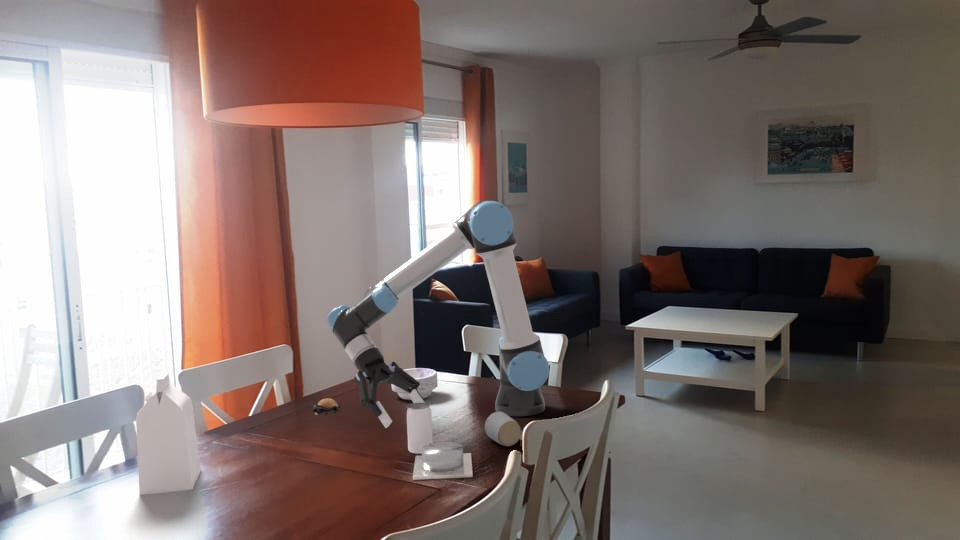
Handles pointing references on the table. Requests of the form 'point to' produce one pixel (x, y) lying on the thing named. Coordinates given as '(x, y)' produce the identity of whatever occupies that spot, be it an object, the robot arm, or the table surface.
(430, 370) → the white bowl
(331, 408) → the toy turtle
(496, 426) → the ceramic mug
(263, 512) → the table surface
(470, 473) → the duct collar
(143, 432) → the milk
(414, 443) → the can
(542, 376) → the robot arm
